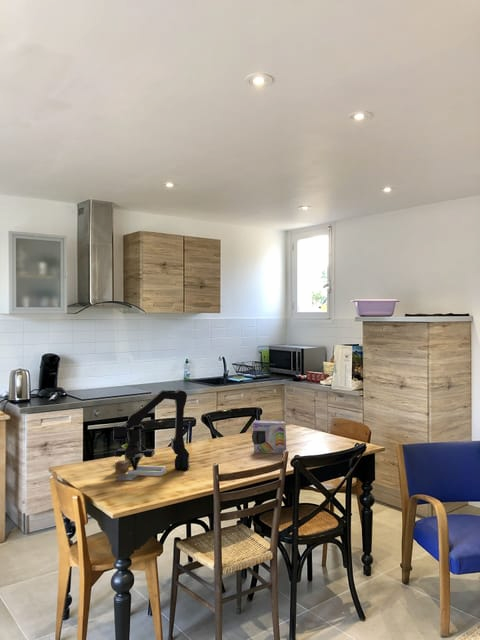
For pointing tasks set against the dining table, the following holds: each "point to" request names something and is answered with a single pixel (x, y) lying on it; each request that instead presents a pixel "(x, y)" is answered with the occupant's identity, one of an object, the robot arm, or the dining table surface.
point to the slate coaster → (126, 477)
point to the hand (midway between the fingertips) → (135, 470)
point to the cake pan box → (269, 436)
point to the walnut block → (121, 467)
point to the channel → (149, 470)
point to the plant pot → (125, 455)
